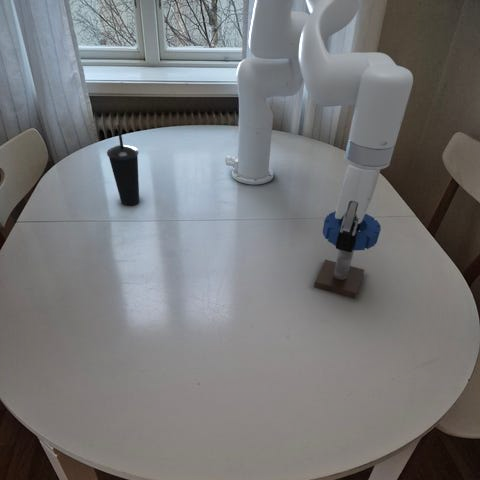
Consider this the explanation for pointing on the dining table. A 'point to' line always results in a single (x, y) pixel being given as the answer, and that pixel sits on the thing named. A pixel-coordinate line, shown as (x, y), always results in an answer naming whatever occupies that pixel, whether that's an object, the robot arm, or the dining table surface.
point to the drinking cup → (125, 171)
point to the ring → (364, 236)
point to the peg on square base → (340, 275)
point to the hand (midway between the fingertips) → (345, 244)
